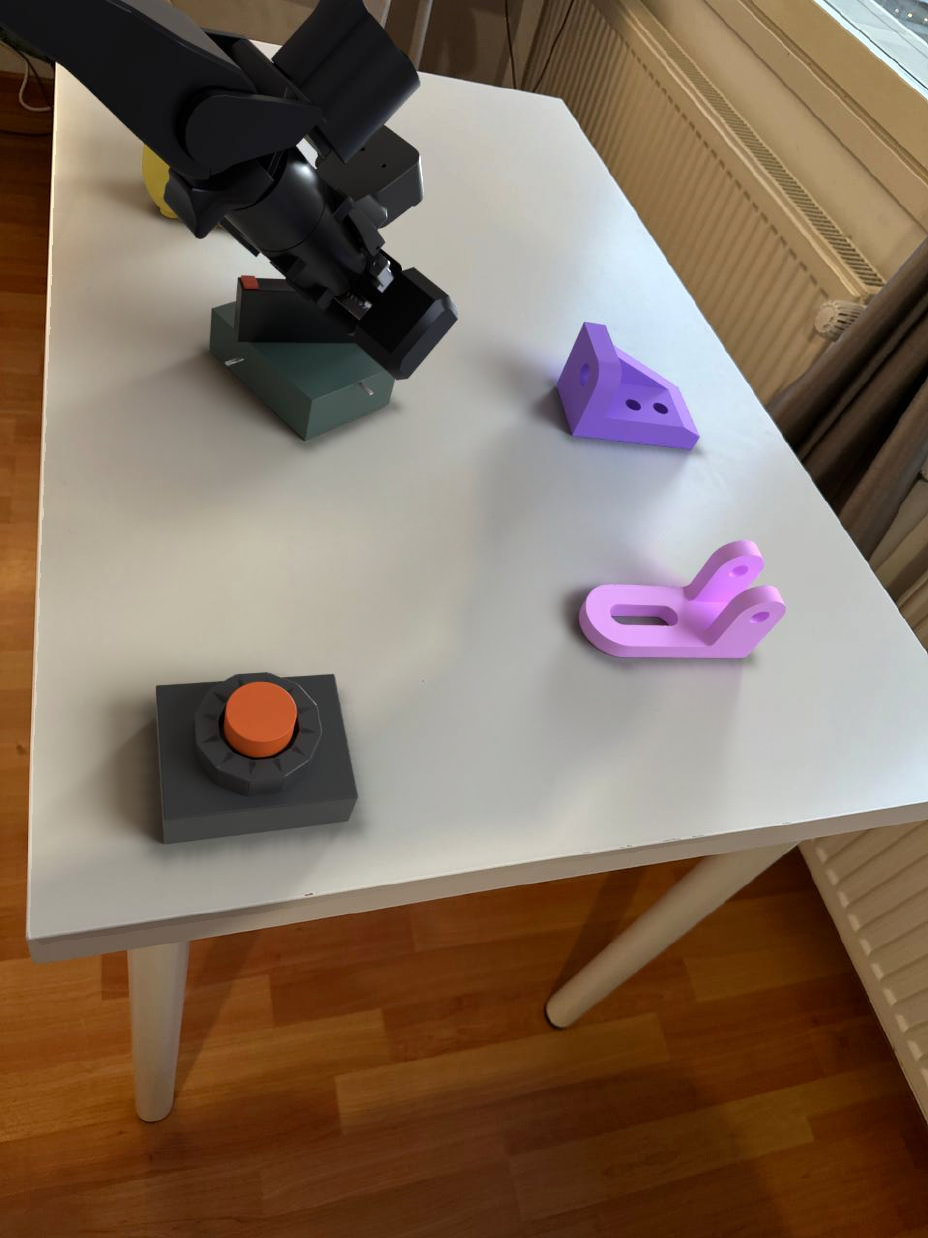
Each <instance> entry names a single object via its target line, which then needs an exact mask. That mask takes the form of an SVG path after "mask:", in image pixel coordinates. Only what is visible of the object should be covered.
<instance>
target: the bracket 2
mask: <svg viewBox="0 0 928 1238" xmlns="http://www.w3.org/2000/svg"><path fill="white" fill-rule="evenodd" d="M764 567H765V561H764V558H763V556H762V554H761V552H760V550H759V548H758V546H757V544H756V543H755V542H753V541H751V540H746V539H741V540H740V539H739V540H735V541H731V542H728V543H726V544H723V545H722V546H721V547H719V548H717V549H716V550H714V552H713V553H712V554H711V555H710V556H709V558H708V559H707V560H706V561H705V563H703V566H702V567H701V568H700V570H699V571H698V572H697V574H696V575H695V576H694V578H693V579H692V580H691V582H690V583H689V584H688V585H685V586H669V585H667V586H666V585H640V584H613V583H612V584H611V583H610V584H607V583H606V584H602V585H598V586H596V587H595V588H593V589H592V590H591V591H590V592H589V593H588V595H587V596H586V598H585V600H584V602H583V603H582V605H581V607H580V609H579V611H578V622H579V626H580V629H581V631H582V633H583V635H584V636H585V638H586V639H587V640H588V641H589V642H590V643H591V644H592V645H593V646H594V647H595V648H597V649H599V650H600V651H601V652H604V653H606V654H608V655H610V656H614V657H619V658H669V659H670V658H677V659H678V658H680V659H681V658H684V659H686V658H688V659H690V658H691V659H692V658H693V659H694V658H696V659H697V658H698V659H713V658H714V659H746V658H748V656H749V655H750V653H751V652H753V650H754V649H755V648H756V647H757V646H758V645H759V643H761V641H762V640H763V639H764V638H765V637H766V636H767V635H768V634H769V633H770V632H771V630H772V629H773V628H775V626H777V624H778V623H779V622H780V621H781V619H783V618H784V616H785V615H786V612H787V608H786V605H785V602H784V600H783V598H782V596H781V594H780V592H779V590H778V589H777V588H776V587H775V586H773V585H758V586H753V587H750V585H752V583H753V582H754V581H755V580H756V579H757V577H758V576H759V575H760V574H761V573H762V571H763V570H764ZM613 617H647V618H648V617H649V618H650V617H651V618H653V617H655V618H659V619H662V620H663V621H665V622H666V623H667V625H653V624H652V625H650V624H649V625H648V624H622V623H619V622H617V621H616V620H615V619H614V618H613Z"/></svg>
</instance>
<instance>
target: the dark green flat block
mask: <svg viewBox="0 0 928 1238" xmlns="http://www.w3.org/2000/svg"><path fill="white" fill-rule="evenodd" d="M235 306H236V300H235V301H231V302H227V303H223V304H221V305H218V306H215V307H211V309H210V310H211V311H210V328H209V346H208V349H209V352H210V353H211V354H212V355H213V356H214V357H215V358H217V360H218V361H220V362H221V363H222V364H223V366H225V367H226V368H227V369H228V370H229V371H230V372H231V373H232V374H233V375H234V376H235V377H236V378H238V379H239V381H241V382H242V383H243V384H244V385H245V386H246V387H247V388H248V389H249V390H251V391H252V393H254V395H255V396H256V397H258V398H259V399H260V400H261V401H262V402H263V403H264V404H265V405H266V406H267V407H268V408H269V409H271V410H272V412H274V413H275V414H276V415H277V416H278V417H279V418H280V419H281V420H282V421H283V422H284V423H286V424H287V426H289V427H290V428H291V429H292V430H293V431H294V432H295V433H296V434H297V435H298V436H299V437H300V438H301V439H302V440H304V441H305V442H306V441H308V440H310V439H311V440H312V439H313V438H315V437H317V436H320V435H322V434H326V433H327V432H329V431H331V430H333V429H336V428H338V427H340V426H342V425H345V424H347V423H350V422H352V421H354V420H357V419H358V418H361V417H363V416H366V415H368V414H370V413H372V412H374V411H377V410H379V409H381V408H384V407H387V406H388V405H390V402H391V397H392V393H393V390H394V386H395V381H396V379H395V378H393V377H392V376H391V375H390V374H389V373H388V372H387V371H385V370H384V369H383V368H382V367H381V366H380V365H379V364H377V363H376V362H375V361H374V360H373V359H372V358H371V357H369V356H368V355H367V354H366V353H365V352H364V351H363V350H362V349H361V348H360V347H359V346H358V345H357V344H355V343H285V342H238V341H237V338H236V334H235V331H234V319H235Z"/></svg>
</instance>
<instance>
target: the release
mask: <svg viewBox="0 0 928 1238" xmlns="http://www.w3.org/2000/svg"><path fill="white" fill-rule="evenodd" d="M253 682H268V683H272V684H275V685H277V686H279V687H281V688H283V689H284V690H285V691H287V692H288V693H289V695H290V696H291V697H292V699H293V700H294V703H295V705H296V711H297V715H296V720H295V725H294V729H293V733H292V737H291V739H290V741H289V743H288V744H287V745H286V746H285V747H284V748H283V749H282V750H281V751H279V752H278V753H276V754H274V755H271V756H267V757H251V756H247V755H244V754H242V753H240V752H238V751H237V750H235V749H234V748H233V747H232V746H231V745H230V743H229V742H228V740H227V739H226V736H225V733H224V720H225V712H226V705H227V702H228V700H229V698H230V696H231V695H232V694H233V693H234V692H235V691H236V690H237V689H238V688H240V687H242V686H244V685H246V684H249V683H253ZM341 705H342V704H341V699H340V695H339V690H338V684H337V680H336V675H335V673H326V674H312V675H295V676H280V675H277V674H274V673H272V672H268V671H265V672H249V673H237V674H236V673H235V674H234V675H232V676H230V677H229V678H227V679H225V680H218V681H217V680H216V681H205V682H204V681H203V682H200V681H199V682H185V683H173V684H172V683H171V684H157V685H156V686H155V725H156V738H157V739H156V740H157V756H158V757H157V758H158V772H159V789H160V791H159V792H160V805H161V823H162V825H161V826H162V840H163V844H164V845H169V844H170V845H171V844H178V843H184V842H193V841H203V840H210V839H216V838H217V839H218V838H224V837H233V836H240V835H248V834H256V833H265V832H273V831H280V830H287V829H288V830H289V829H295V828H296V829H297V828H304V827H311V826H320V825H329V824H337V823H343V822H349V821H350V819H351V816H352V813H353V811H354V809H355V807H356V804H357V801H358V798H359V793H358V788H357V783H356V778H355V772H354V768H353V761H352V756H351V752H350V751H351V750H350V747H349V742H348V741H349V740H348V736H347V732H346V726H345V721H344V720H345V719H344V716H343V711H342V706H341Z"/></svg>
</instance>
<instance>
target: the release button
mask: <svg viewBox="0 0 928 1238" xmlns="http://www.w3.org/2000/svg"><path fill="white" fill-rule="evenodd" d="M296 715H297V711H296V705H295V703H294V700H293V699H292V697H291V696H290V695H289V693H288V692H287V691H285V690H284V689H283V688H281V687H279V686H277V685H275V684H272V683H268V682H253V683H249V684H246V685H244V686H242V687H240V688H238V689H237V690H236V691H235V692H234V693H233V694H232V695H231V696H230V698H229V700H228V702H227V705H226V712H225V720H224V733H225V736H226V739H227V740H228V742H229V743H230V745H231V746H232V747H233V748H234V749H235V750H237V751H238V752H240V753H242V754H244V755H247V756H251V757H267V756H271V755H274V754H276V753H278V752H279V751H281V750H282V749H283V748H284V747H285V746H286V745H287V744H288V743H289V741H290V739H291V737H292V733H293V729H294V725H295V720H296Z"/></svg>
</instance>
